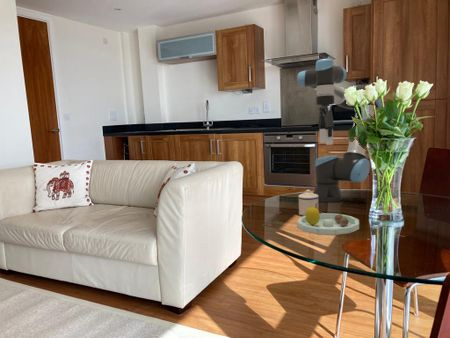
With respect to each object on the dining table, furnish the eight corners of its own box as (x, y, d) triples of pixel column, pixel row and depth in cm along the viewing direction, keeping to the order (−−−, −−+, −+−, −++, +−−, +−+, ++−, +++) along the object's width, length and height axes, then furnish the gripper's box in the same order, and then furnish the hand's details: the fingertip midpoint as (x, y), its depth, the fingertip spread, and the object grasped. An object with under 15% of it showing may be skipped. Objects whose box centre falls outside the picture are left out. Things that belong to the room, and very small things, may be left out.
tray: (319, 217, 159) (319, 209, 159) (370, 226, 142) (370, 217, 142) (286, 229, 144) (286, 220, 144) (338, 241, 127) (338, 231, 126)
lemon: (305, 227, 141) (305, 207, 140) (305, 224, 147) (305, 204, 146) (320, 228, 140) (320, 207, 139) (319, 224, 146) (319, 204, 145)
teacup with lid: (318, 218, 158) (317, 192, 156) (297, 217, 161) (296, 191, 160) (320, 211, 169) (320, 187, 167) (301, 211, 172) (300, 186, 171)
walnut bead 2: (342, 224, 143) (342, 215, 143) (350, 225, 141) (350, 217, 140) (337, 226, 141) (337, 217, 141) (345, 228, 138) (345, 219, 138)
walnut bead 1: (337, 221, 148) (337, 213, 148) (345, 222, 145) (345, 214, 145) (333, 223, 146) (332, 214, 145) (340, 224, 143) (340, 216, 143)
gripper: (311, 98, 172) (312, 142, 174) (322, 93, 147) (323, 145, 150) (327, 97, 171) (328, 141, 174) (341, 92, 147) (342, 145, 149)
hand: (326, 143), depth 162 cm, fingers open, 13 cm apart
